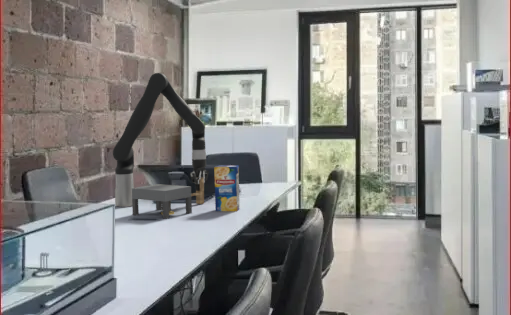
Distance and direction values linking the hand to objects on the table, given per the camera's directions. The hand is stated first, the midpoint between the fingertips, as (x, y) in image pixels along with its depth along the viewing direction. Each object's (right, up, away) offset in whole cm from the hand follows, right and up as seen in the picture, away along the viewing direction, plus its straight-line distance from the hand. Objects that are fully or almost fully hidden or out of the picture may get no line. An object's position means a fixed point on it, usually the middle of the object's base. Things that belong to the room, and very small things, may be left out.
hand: (199, 190), depth 309 cm
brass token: (-13, -10, -29) cm, 34 cm away
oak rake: (-7, -8, -10) cm, 15 cm away
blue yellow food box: (+16, -9, -21) cm, 28 cm away
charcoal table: (-15, -10, -29) cm, 34 cm away
